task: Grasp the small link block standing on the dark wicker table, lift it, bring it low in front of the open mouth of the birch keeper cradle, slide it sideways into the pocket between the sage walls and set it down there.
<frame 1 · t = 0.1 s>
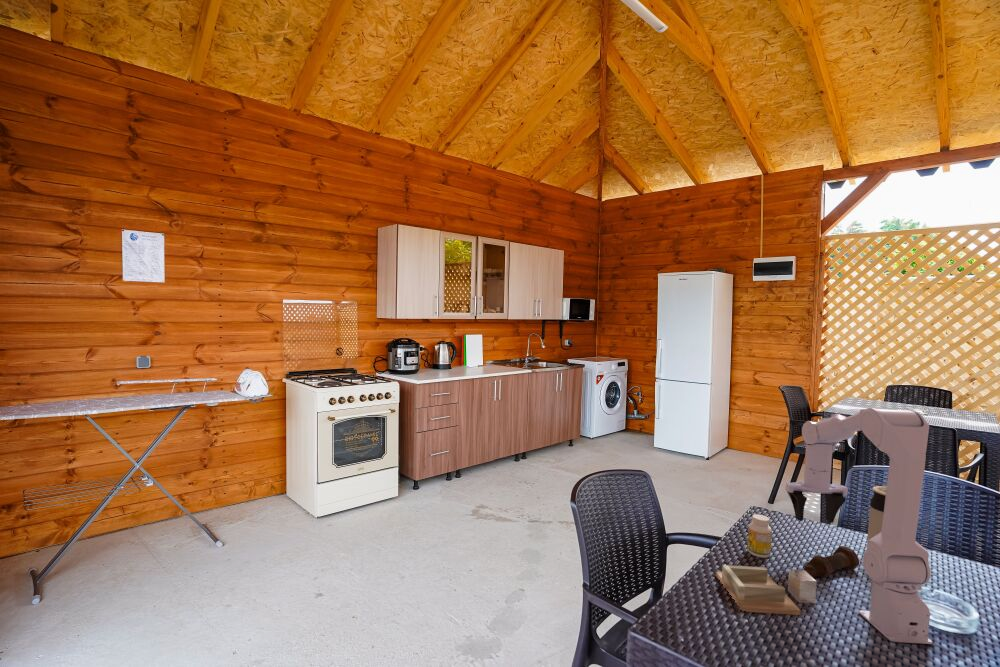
hand: (814, 520, 129), 10 cm above the table, tool pointing down, fingers open, 7 cm apart
keeper cradle: (755, 594, 112), on the table
travel mug: (885, 559, 131), on the table
bolt: (827, 573, 123), on the table
supplement bottle: (758, 553, 131), on the table
link block: (801, 597, 111), on the table
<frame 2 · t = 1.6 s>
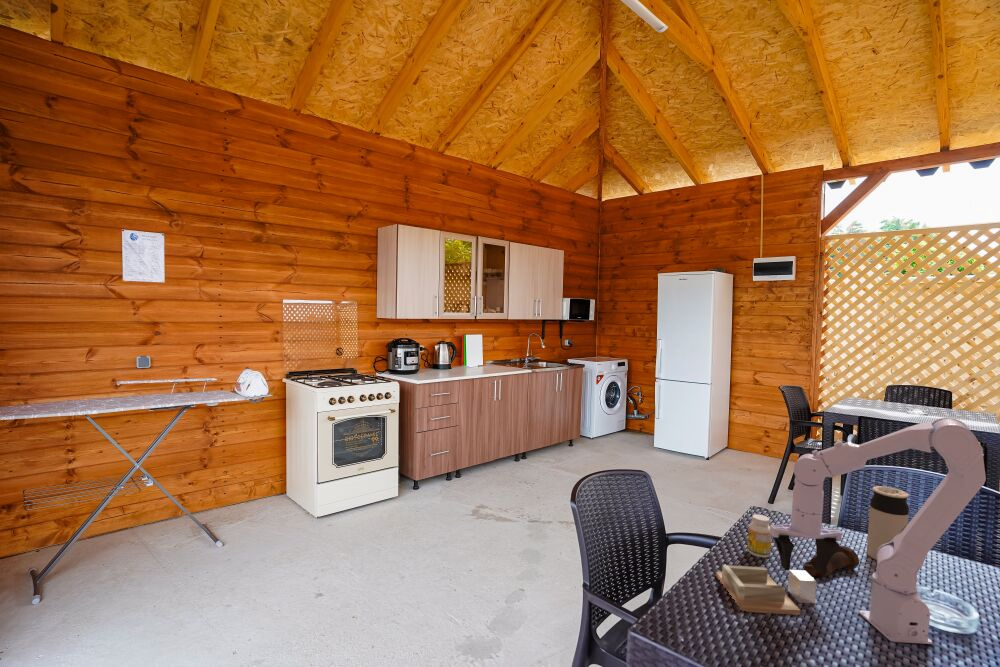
hand: (802, 569, 111), 6 cm above the table, tool pointing down, fingers open, 7 cm apart
nothing on the table moved.
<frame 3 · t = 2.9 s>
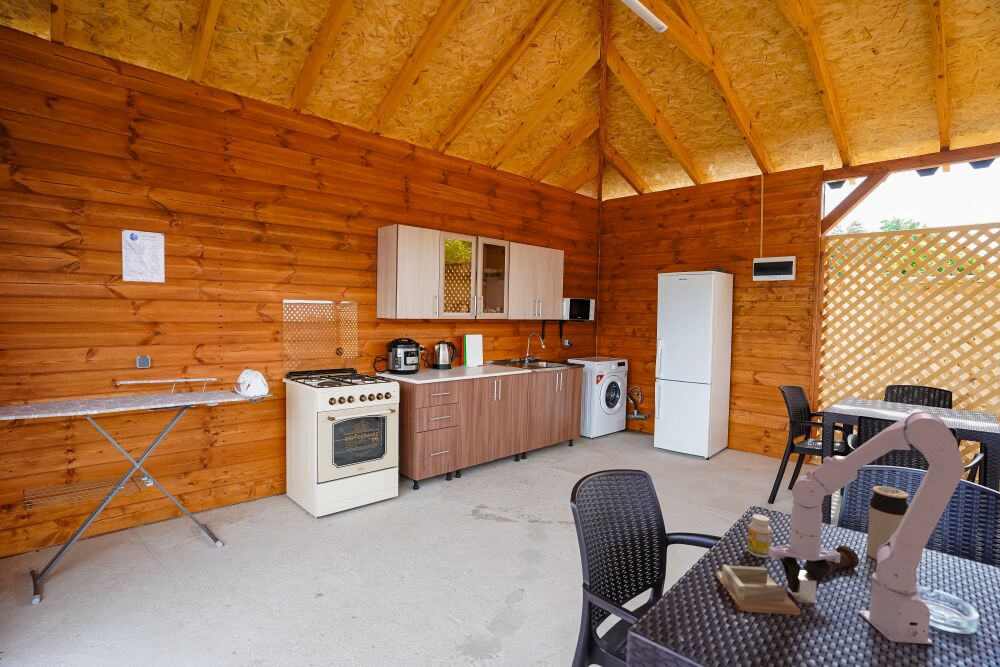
hand: (801, 590, 111), 1 cm above the table, tool pointing down, fingers closed on link block, 3 cm apart
link block: (801, 596, 111), on the table, touching gripper
everything else where it was.
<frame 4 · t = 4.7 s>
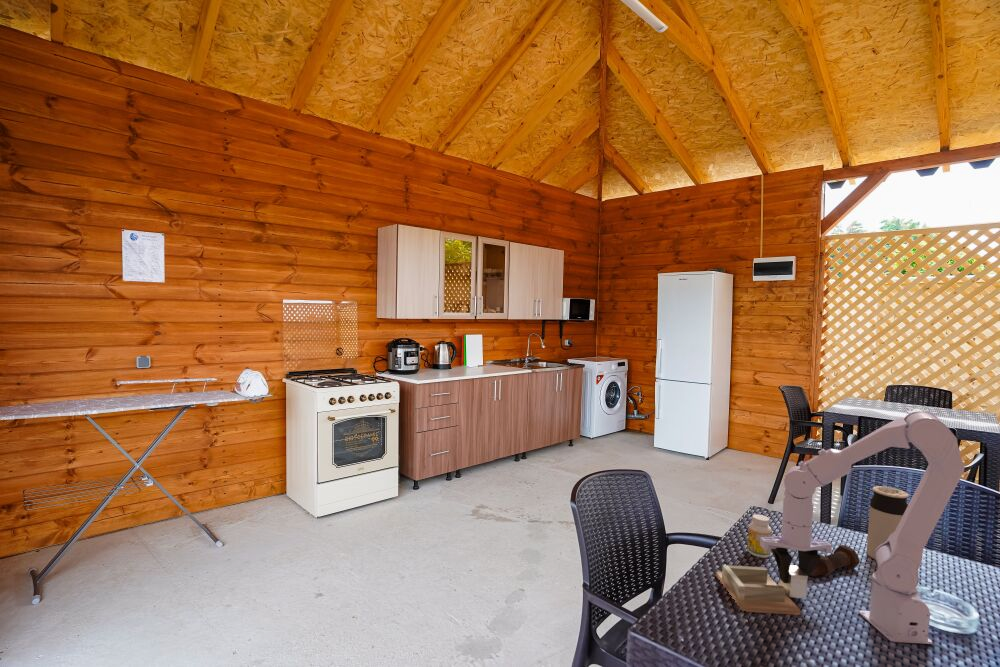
hand: (793, 581, 111), 3 cm above the table, tool pointing down, fingers closed on link block, 3 cm apart
link block: (792, 591, 111), point 1 cm above the table, touching gripper
everything else where it was.
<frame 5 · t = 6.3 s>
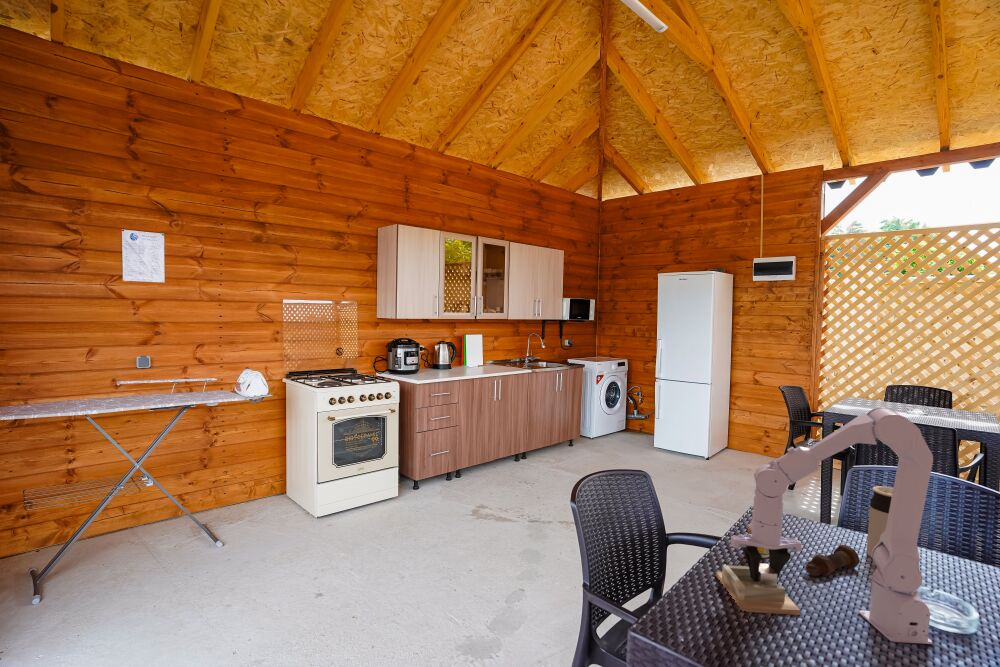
hand: (763, 579, 112), 3 cm above the table, tool pointing down, fingers closed on link block, 3 cm apart
link block: (762, 590, 112), point 1 cm above the table, touching gripper, keeper cradle
when the fingers open (3 cm above the table, at t = 7.0 s): link block stays where it is, resting on keeper cradle.
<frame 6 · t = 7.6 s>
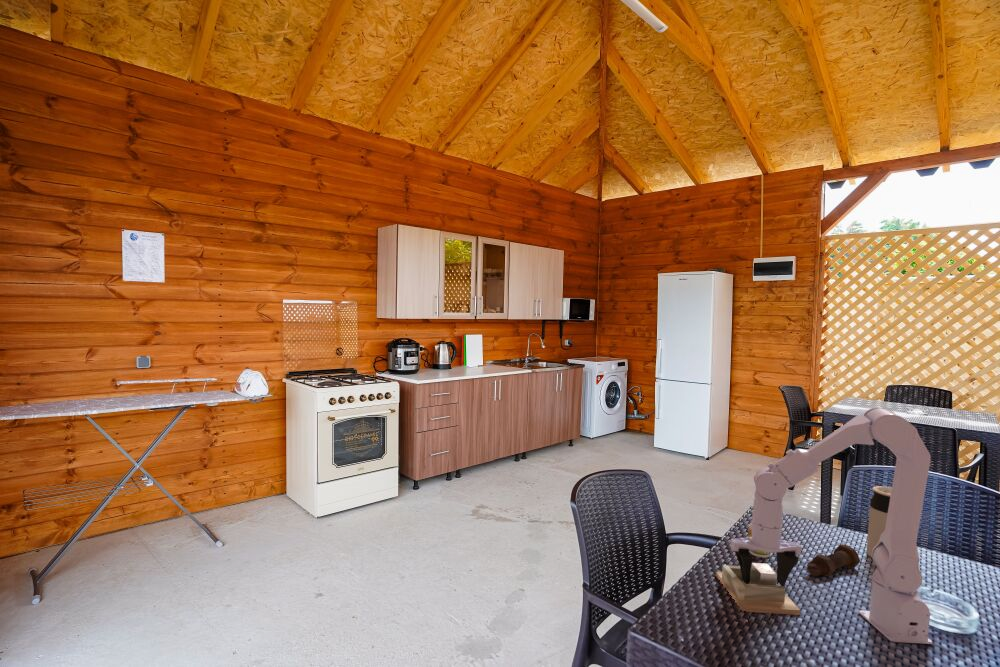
hand: (763, 582, 112), 3 cm above the table, tool pointing down, fingers open, 7 cm apart
link block: (762, 590, 112), point 1 cm above the table, touching keeper cradle
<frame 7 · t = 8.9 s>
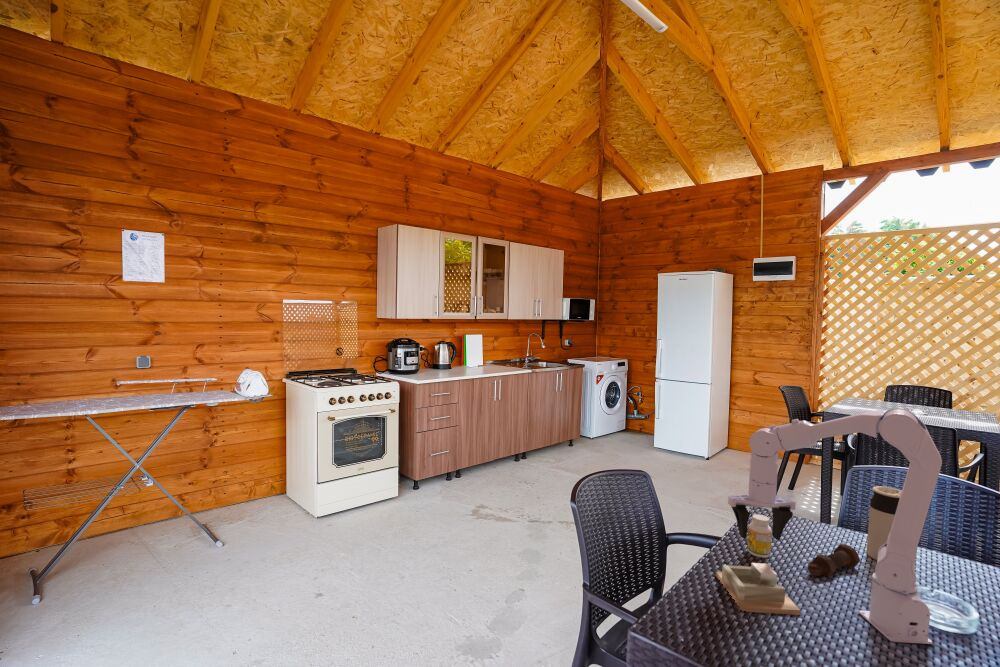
hand: (759, 537, 117), 10 cm above the table, tool pointing down, fingers open, 7 cm apart
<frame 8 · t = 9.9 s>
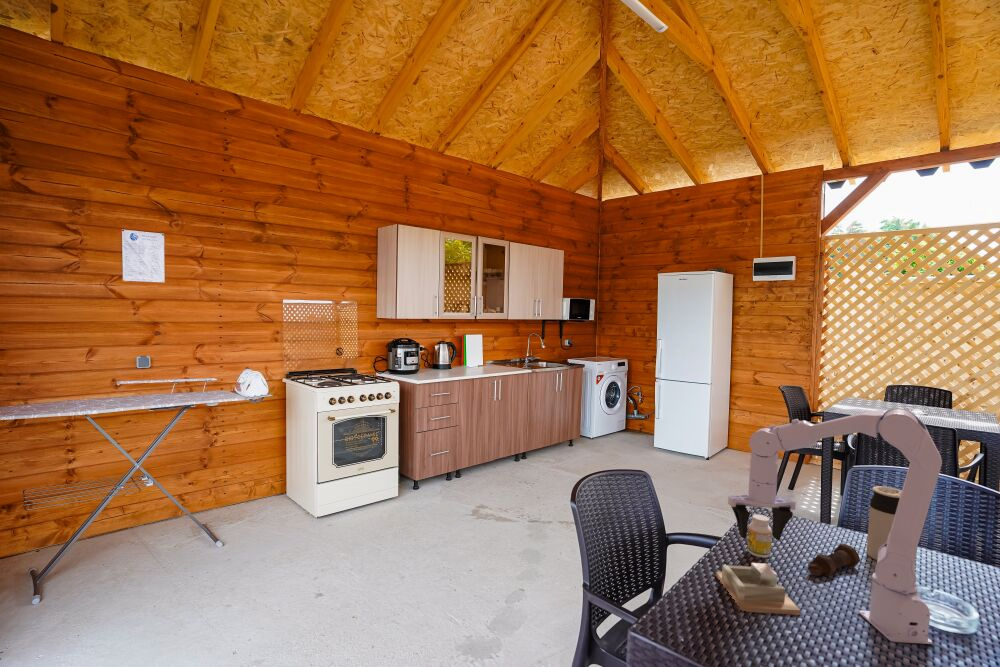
hand: (759, 537, 117), 10 cm above the table, tool pointing down, fingers open, 7 cm apart
at the end: link block inside the target area (1.5 cm from its centre), point 1.0 cm above the table; link block tilted 0°; the gripper is holding nothing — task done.
